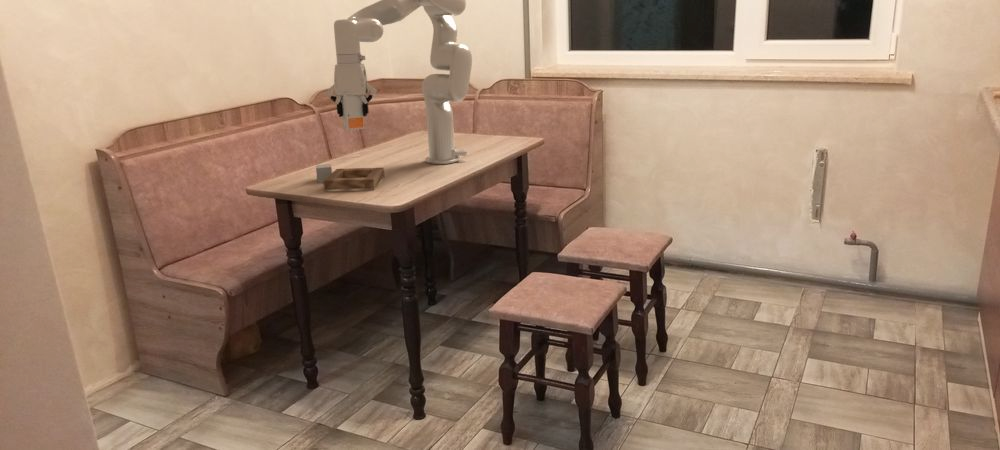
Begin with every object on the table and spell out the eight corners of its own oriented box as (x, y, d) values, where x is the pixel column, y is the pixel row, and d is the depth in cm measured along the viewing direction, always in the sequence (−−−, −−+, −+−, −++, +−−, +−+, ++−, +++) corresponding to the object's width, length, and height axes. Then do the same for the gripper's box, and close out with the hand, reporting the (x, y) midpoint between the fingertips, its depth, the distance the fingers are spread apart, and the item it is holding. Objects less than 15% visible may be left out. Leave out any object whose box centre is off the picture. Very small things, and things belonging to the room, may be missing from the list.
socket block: (384, 177, 258) (383, 167, 257) (374, 190, 242) (373, 179, 241) (337, 178, 259) (336, 168, 258) (324, 191, 243) (323, 180, 242)
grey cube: (332, 178, 260) (331, 164, 259) (332, 181, 256) (331, 167, 254) (317, 179, 259) (316, 165, 258) (317, 182, 255) (315, 168, 253)
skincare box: (347, 130, 243) (344, 92, 240) (343, 128, 247) (340, 91, 243) (365, 128, 246) (362, 91, 242) (361, 127, 249) (358, 90, 246)
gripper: (378, 58, 243) (382, 113, 248) (324, 59, 244) (329, 115, 249) (373, 60, 236) (377, 117, 241) (318, 61, 237) (323, 118, 242)
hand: (353, 115), depth 245 cm, fingers closed on skincare box, 7 cm apart
